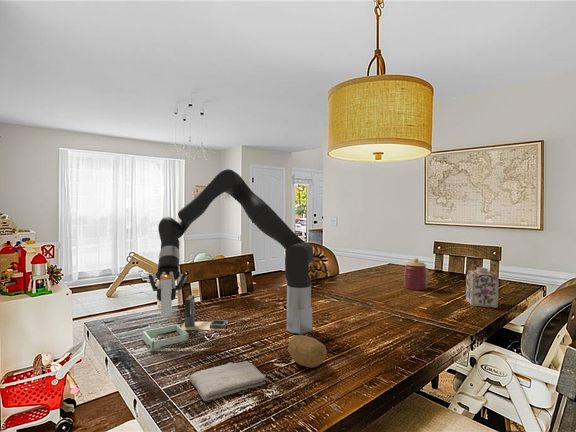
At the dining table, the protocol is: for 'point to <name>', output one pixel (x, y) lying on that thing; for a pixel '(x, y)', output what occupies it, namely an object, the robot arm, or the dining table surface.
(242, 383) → the washcloth
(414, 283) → the canister
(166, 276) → the pin
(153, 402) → the dining table surface
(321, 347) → the potato
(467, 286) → the decorative jar
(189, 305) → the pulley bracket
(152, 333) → the tray
